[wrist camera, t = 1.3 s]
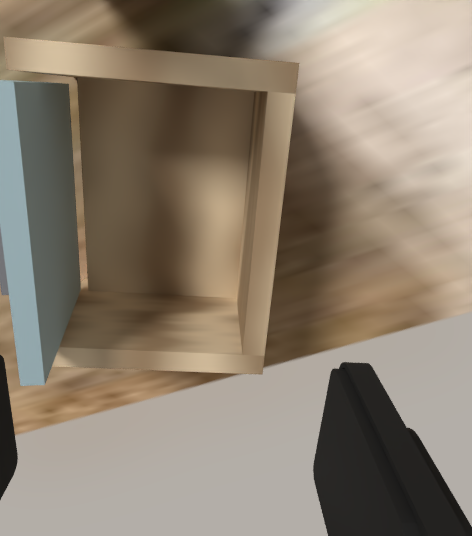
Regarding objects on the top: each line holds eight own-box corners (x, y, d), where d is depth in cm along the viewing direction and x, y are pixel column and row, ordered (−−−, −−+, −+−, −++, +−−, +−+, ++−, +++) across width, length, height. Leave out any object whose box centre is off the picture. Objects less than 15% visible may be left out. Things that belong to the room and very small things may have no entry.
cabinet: (273, 72, 27) (299, 63, 18) (250, 301, 32) (262, 374, 24) (63, 54, 26) (-10, 35, 17) (78, 293, 31) (28, 365, 23)
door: (33, 81, 24) (68, 84, 24) (51, 289, 28) (80, 289, 28) (-45, 76, 14) (13, 81, 15) (0, 386, 19) (44, 384, 19)
